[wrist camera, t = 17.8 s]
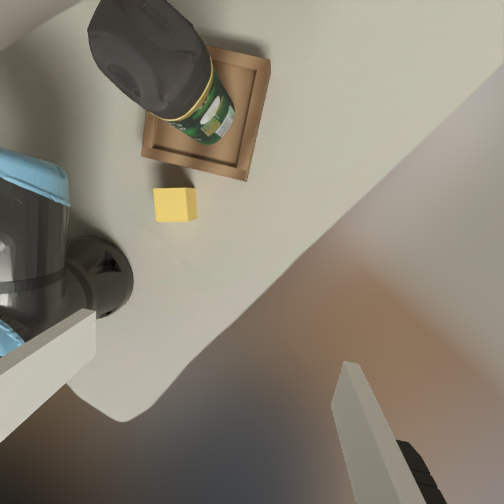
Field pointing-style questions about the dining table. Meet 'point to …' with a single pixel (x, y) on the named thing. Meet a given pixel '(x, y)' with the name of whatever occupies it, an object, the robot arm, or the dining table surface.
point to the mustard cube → (175, 204)
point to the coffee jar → (161, 65)
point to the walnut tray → (238, 135)
